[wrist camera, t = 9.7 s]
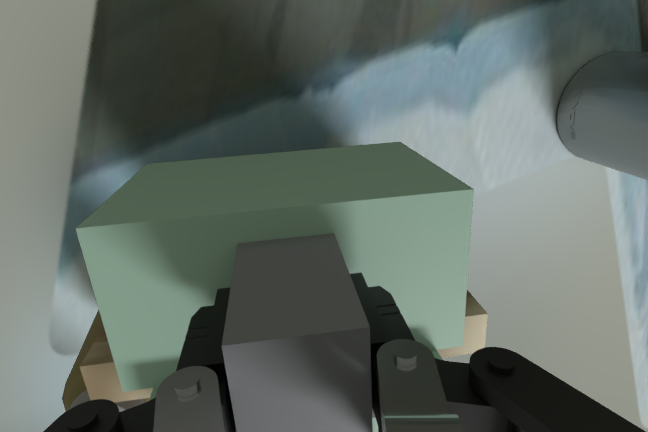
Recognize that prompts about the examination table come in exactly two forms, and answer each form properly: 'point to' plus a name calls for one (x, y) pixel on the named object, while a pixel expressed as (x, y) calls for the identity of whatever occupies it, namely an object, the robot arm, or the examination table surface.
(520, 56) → the examination table surface
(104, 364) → the wall board
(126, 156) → the examination table surface
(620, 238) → the examination table surface
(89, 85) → the examination table surface
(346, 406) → the green box
